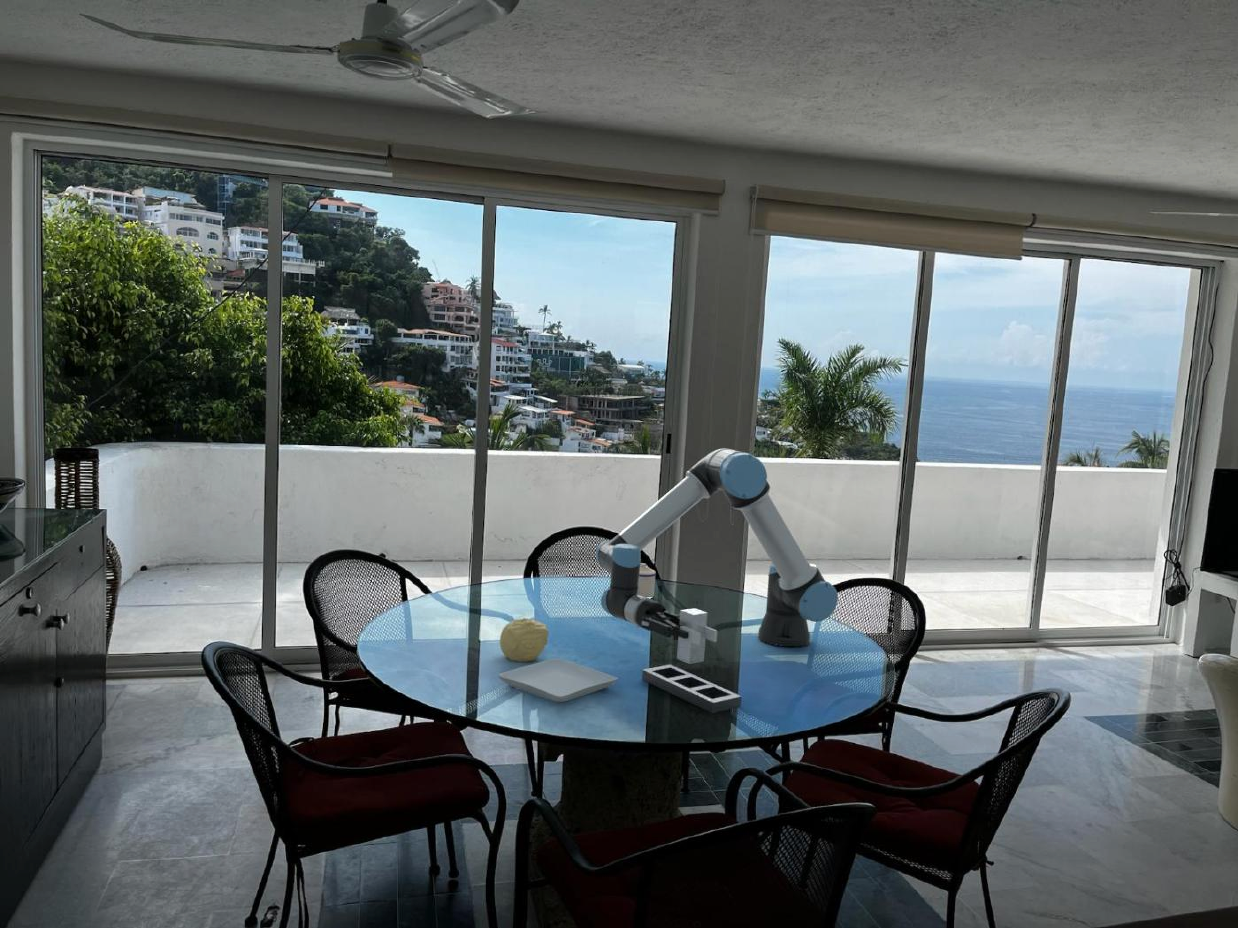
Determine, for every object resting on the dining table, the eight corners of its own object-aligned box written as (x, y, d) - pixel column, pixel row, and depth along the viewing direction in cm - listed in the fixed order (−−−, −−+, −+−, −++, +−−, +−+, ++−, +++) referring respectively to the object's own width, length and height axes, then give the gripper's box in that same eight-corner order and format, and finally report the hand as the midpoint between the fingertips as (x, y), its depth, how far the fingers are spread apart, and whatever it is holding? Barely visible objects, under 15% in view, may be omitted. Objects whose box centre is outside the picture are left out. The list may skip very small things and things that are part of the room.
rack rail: (669, 673, 243) (670, 664, 243) (740, 706, 223) (741, 696, 223) (641, 679, 238) (642, 669, 238) (712, 713, 218) (713, 702, 217)
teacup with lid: (654, 595, 326) (657, 561, 325) (653, 601, 317) (656, 567, 316) (620, 592, 327) (622, 559, 325) (618, 598, 318) (620, 564, 316)
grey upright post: (691, 655, 233) (694, 608, 232) (703, 661, 229) (707, 612, 228) (676, 658, 230) (680, 610, 229) (689, 663, 226) (693, 614, 225)
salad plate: (555, 668, 244) (556, 655, 243) (619, 690, 230) (620, 676, 230) (494, 687, 227) (495, 673, 227) (560, 711, 214) (560, 696, 213)
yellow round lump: (514, 667, 241) (516, 626, 240) (491, 654, 251) (493, 614, 250) (552, 661, 248) (554, 621, 247) (529, 648, 257) (531, 610, 256)
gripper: (671, 623, 249) (733, 648, 230) (617, 631, 238) (678, 657, 220) (673, 595, 248) (735, 618, 230) (619, 602, 237) (680, 626, 219)
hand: (707, 637), depth 225 cm, fingers closed on grey upright post, 5 cm apart
